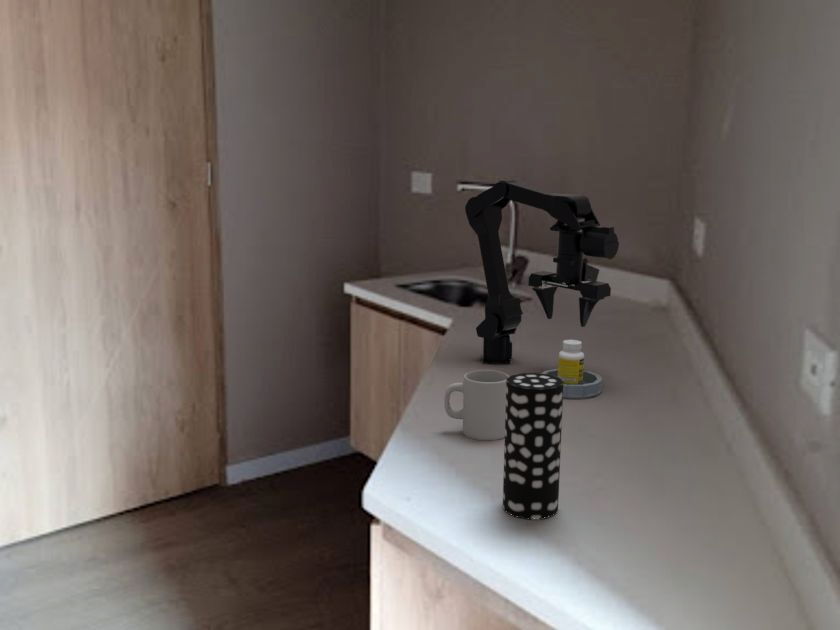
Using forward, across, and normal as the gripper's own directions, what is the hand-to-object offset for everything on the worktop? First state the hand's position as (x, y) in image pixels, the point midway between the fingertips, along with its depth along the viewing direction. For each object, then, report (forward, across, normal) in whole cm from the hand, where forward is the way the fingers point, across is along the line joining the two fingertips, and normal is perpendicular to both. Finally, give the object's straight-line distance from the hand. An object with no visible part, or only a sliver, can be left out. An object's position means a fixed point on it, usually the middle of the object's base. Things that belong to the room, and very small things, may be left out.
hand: (566, 322), depth 204 cm
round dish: (+12, -7, +6) cm, 16 cm away
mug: (+13, -11, +41) cm, 44 cm away
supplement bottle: (+12, -7, +6) cm, 15 cm away
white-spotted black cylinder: (+12, -39, +59) cm, 72 cm away
